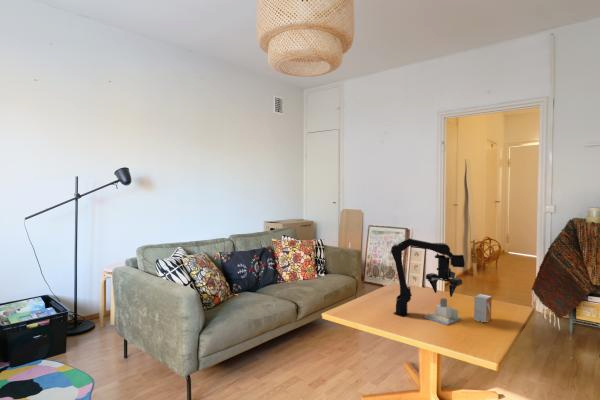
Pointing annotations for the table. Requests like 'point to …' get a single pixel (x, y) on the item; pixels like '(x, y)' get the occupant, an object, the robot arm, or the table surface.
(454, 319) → the cleat board
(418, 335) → the table surface
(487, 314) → the small box
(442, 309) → the block with grey handle
